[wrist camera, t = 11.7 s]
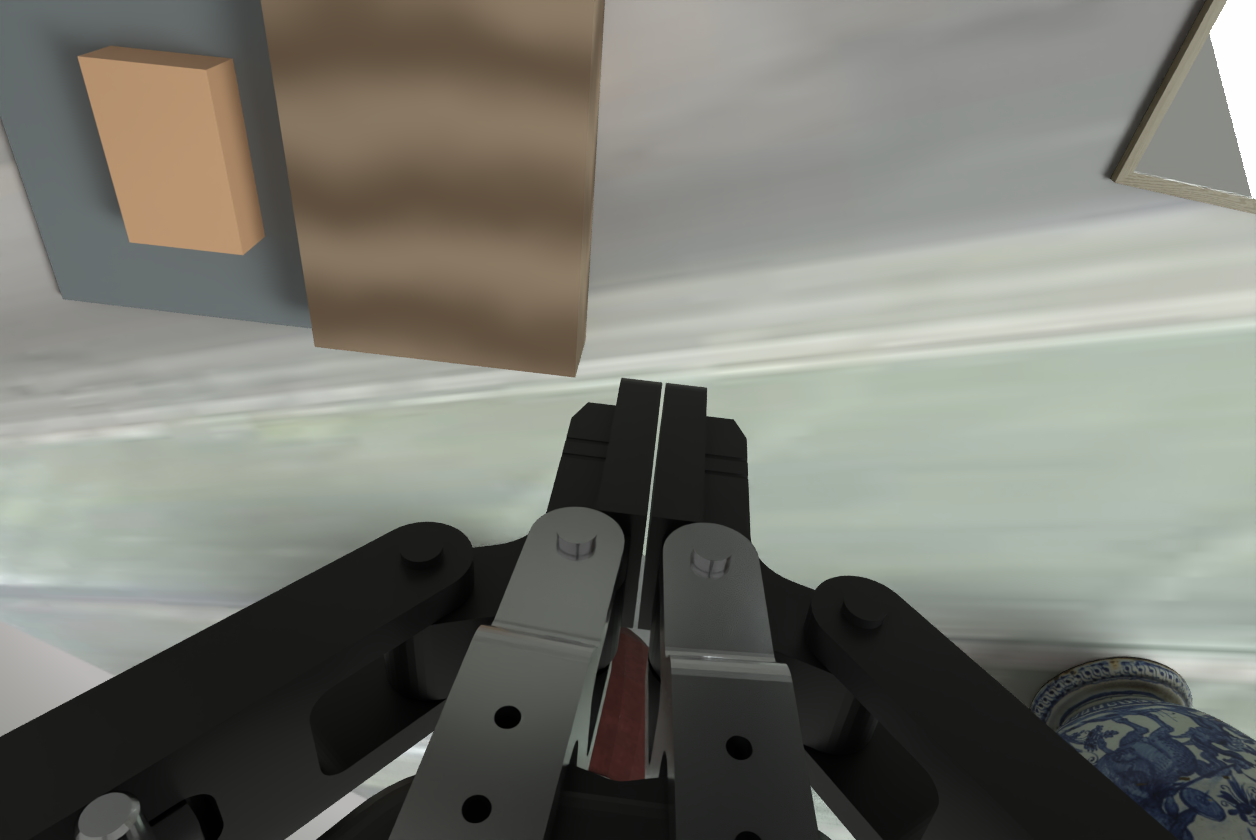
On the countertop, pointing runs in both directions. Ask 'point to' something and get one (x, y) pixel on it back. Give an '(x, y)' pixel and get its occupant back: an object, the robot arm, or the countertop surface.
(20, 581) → the countertop surface
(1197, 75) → the picture frame
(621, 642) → the mate gourd
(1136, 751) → the decorative vase
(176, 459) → the countertop surface
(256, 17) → the slate mat
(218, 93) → the tan rectangular block
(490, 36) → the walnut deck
